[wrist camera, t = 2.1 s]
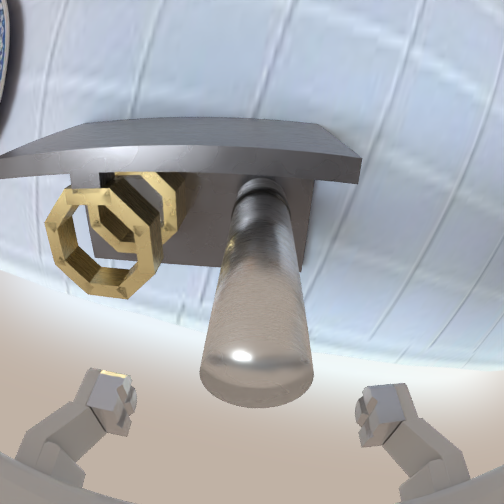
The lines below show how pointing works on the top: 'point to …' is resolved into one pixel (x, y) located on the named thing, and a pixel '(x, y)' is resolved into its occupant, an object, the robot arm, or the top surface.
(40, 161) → the collar stand
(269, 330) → the grey metal rod
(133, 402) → the robot arm
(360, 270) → the top surface
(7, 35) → the ceramic plate
